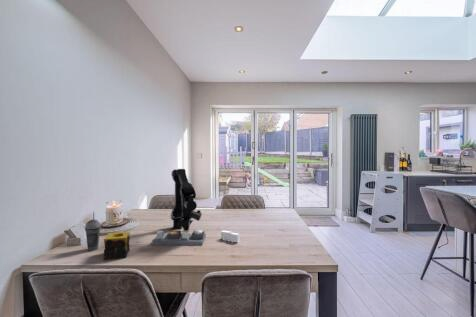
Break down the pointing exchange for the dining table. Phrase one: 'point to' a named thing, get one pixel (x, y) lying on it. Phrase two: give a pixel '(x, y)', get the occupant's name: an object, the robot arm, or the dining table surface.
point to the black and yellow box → (116, 245)
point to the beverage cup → (92, 234)
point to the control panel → (180, 239)
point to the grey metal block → (160, 234)
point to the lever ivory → (185, 234)
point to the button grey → (197, 232)
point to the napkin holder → (230, 236)
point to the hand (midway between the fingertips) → (186, 233)
